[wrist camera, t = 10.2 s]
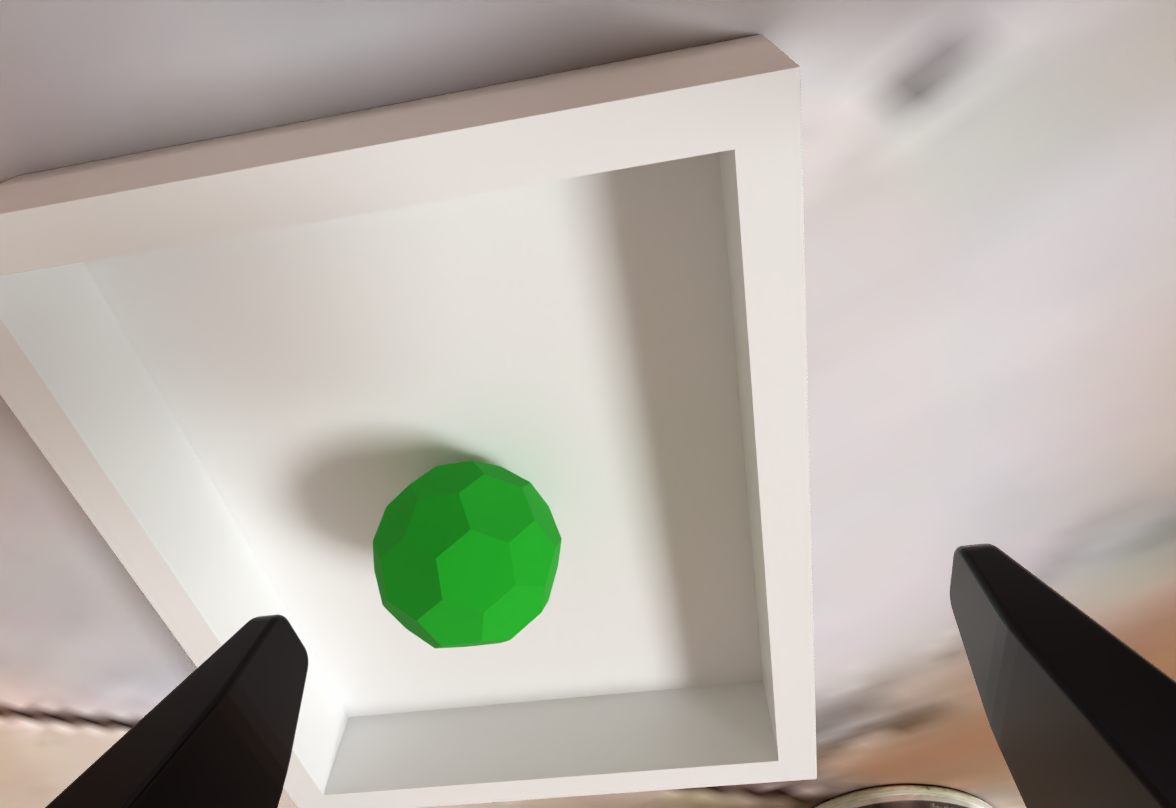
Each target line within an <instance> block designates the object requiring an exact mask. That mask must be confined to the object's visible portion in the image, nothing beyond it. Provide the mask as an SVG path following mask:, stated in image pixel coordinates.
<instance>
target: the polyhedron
mask: <svg viewBox="0 0 1176 808" xmlns="http://www.w3.org/2000/svg"><path fill="white" fill-rule="evenodd" d="M561 540H562V538H561V536H560V533H559V531H558V528H557V526H556V523H555V521H554V518H553V516H552V513H551V511H550V508H549V506H548V505H547V503H546V502H545V501H544V499H543V498H542V497H541V496H540V494H539V493H538V492H537V490H536V489H535V488H534V486H533V485H532V484H531V482H529V481H527V480H525V479H523V478H522V477H520V476H518V475H516V474H514V473H512V472H510V471H509V470H507V469H505V468H503V467H501V466H497V465H492V464H487V463H482V462H477V461H466V462H459V463H452V464H445V465H438V466H436V467H434V468H433V469H431V470H430V471H428V472H427V473H425V474H424V475H423V476H421V477H420V478H418V479H417V480H415V481H414V482H412V483H411V484H409V485H408V486H407V487H406V488H405V489H404V490H403V491H402V492H401V493H400V494H399V495H398V496H397V497H396V498H395V499H394V500H393V501H392V502H390V503H389V504H388V505H387V506H386V509H385V511H384V514H383V516H382V519H381V521H380V524H379V527H378V529H377V532H376V534H375V537H374V539H373V559H374V572H375V576H376V580H377V584H378V588H379V592H380V596H381V601H382V605H383V606H384V607H385V608H386V609H387V610H388V611H389V612H390V613H391V614H392V615H393V616H394V617H395V618H396V619H397V620H398V621H399V622H400V623H401V624H402V625H403V626H404V627H405V628H406V629H407V630H409V631H410V632H412V633H413V634H415V635H416V636H418V637H419V638H420V639H422V640H423V641H425V642H426V643H428V644H429V645H431V646H432V647H433V648H454V647H469V646H478V645H487V644H497V643H502V642H506V641H509V640H511V639H512V638H513V637H514V636H516V635H517V634H518V633H519V632H520V631H521V630H522V629H524V628H525V627H526V626H527V625H528V624H529V623H530V622H531V621H533V620H534V619H535V618H536V617H537V616H538V615H539V614H541V613H542V611H543V609H544V608H545V606H546V604H547V603H548V601H549V597H550V594H551V590H552V586H553V583H554V579H555V575H556V572H557V568H558V562H559V555H560V548H561Z"/></svg>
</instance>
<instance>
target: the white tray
mask: <svg viewBox="0 0 1176 808" xmlns="http://www.w3.org/2000/svg"><path fill="white" fill-rule="evenodd" d="M0 395H1V397H2V398H3V399H4V401H5V402H6V404H7V405H8V406H9V408H10V409H11V410H12V412H13V413H14V415H15V416H16V417H17V419H18V420H19V422H20V423H21V424H22V426H23V427H24V428H25V430H26V431H27V433H28V434H29V435H30V437H31V438H32V440H33V441H34V442H35V444H36V445H37V446H38V448H39V449H40V451H41V452H42V453H43V455H44V456H45V458H46V459H47V460H48V462H49V463H50V464H51V466H52V467H53V469H54V470H55V471H56V473H57V474H58V476H59V477H60V478H61V480H62V481H63V483H64V484H65V485H66V487H67V488H68V489H69V491H70V492H71V494H72V495H73V496H74V498H75V499H76V501H77V502H78V503H79V505H80V506H81V507H82V509H83V510H84V512H85V513H86V514H87V516H88V517H89V519H90V520H91V521H92V523H93V524H94V525H95V527H96V528H97V530H98V531H99V532H100V534H101V535H102V537H103V538H104V539H105V541H106V542H107V543H108V545H109V546H110V548H111V549H112V550H113V552H114V553H115V555H116V556H117V557H118V559H119V560H120V562H121V563H122V564H123V566H124V567H125V568H126V570H127V571H128V573H129V574H130V575H131V577H132V578H133V580H134V581H135V582H136V584H137V585H138V586H139V588H140V589H141V591H142V592H143V593H144V595H145V596H146V598H147V599H148V600H149V602H150V603H151V604H152V606H153V607H154V609H155V610H156V611H157V613H158V614H159V616H160V617H161V618H162V620H163V621H164V622H165V624H166V625H167V627H168V628H169V629H170V631H171V632H172V634H173V635H174V636H175V638H176V639H177V640H178V642H179V643H180V645H181V646H182V647H183V649H184V650H185V652H186V653H187V654H188V656H189V657H190V659H191V660H192V661H193V663H194V664H195V665H196V667H197V668H198V667H199V666H200V665H201V664H202V663H203V662H205V661H206V660H207V659H208V658H209V657H210V656H211V655H212V654H213V653H214V652H215V651H217V650H218V649H219V648H220V647H221V646H222V645H223V644H224V643H225V642H226V641H227V640H229V639H230V638H231V637H232V636H233V635H234V634H235V633H236V632H237V631H238V630H239V629H241V628H242V627H243V626H244V625H245V624H246V623H247V622H248V621H250V620H251V619H253V618H255V617H258V616H267V615H277V614H278V615H282V616H284V617H286V618H287V620H288V621H289V623H290V624H291V626H292V627H293V629H294V631H295V632H296V634H297V636H298V637H299V639H300V640H301V642H302V644H303V645H304V647H305V649H306V651H307V654H308V671H307V676H306V681H305V687H304V692H303V697H302V702H301V707H300V712H299V717H298V723H297V728H296V733H295V738H294V743H293V748H292V754H291V758H290V763H289V767H288V771H287V775H286V779H285V783H284V786H283V787H284V789H285V790H286V792H287V793H288V794H289V796H290V797H291V798H292V800H293V801H294V803H295V804H296V805H297V807H298V808H420V807H433V806H447V805H461V804H475V803H489V802H503V801H517V800H530V799H544V798H558V797H572V796H586V795H600V794H614V793H627V792H641V791H655V790H669V789H683V788H697V787H711V786H725V785H738V784H752V783H766V782H780V781H794V780H808V779H817V761H816V718H815V676H814V633H813V591H812V548H811V505H810V463H809V420H808V378H807V335H806V293H805V250H804V207H803V165H802V122H801V80H800V66H799V65H798V64H796V63H795V62H794V61H793V60H792V59H790V58H789V57H788V56H787V55H786V54H784V53H783V52H782V51H781V50H780V49H778V48H777V47H776V46H775V45H774V44H772V43H771V42H770V41H769V40H768V39H767V38H765V37H764V36H763V35H762V34H760V35H755V36H749V37H744V38H739V39H734V40H728V41H723V42H718V43H713V44H707V45H702V46H697V47H692V48H686V49H681V50H676V51H671V52H665V53H660V54H655V55H650V56H644V57H639V58H634V59H629V60H623V61H618V62H613V63H608V64H602V65H597V66H592V67H587V68H581V69H576V70H571V71H566V72H560V73H555V74H550V75H545V76H539V77H534V78H529V79H524V80H518V81H513V82H508V83H503V84H497V85H492V86H487V87H482V88H476V89H471V90H466V91H461V92H455V93H450V94H445V95H440V96H434V97H429V98H424V99H419V100H413V101H408V102H403V103H398V104H392V105H387V106H382V107H377V108H371V109H366V110H361V111H356V112H350V113H345V114H340V115H335V116H329V117H324V118H319V119H314V120H308V121H303V122H298V123H293V124H287V125H282V126H277V127H271V128H266V129H261V130H256V131H250V132H245V133H240V134H235V135H229V136H224V137H219V138H214V139H208V140H203V141H198V142H193V143H187V144H182V145H177V146H172V147H166V148H161V149H156V150H151V151H145V152H140V153H135V154H130V155H124V156H119V157H114V158H109V159H103V160H98V161H93V162H88V163H82V164H77V165H72V166H67V167H61V168H56V169H51V170H46V171H40V172H35V173H30V174H25V175H19V176H16V177H14V178H11V179H9V180H7V181H5V182H3V183H0ZM466 461H477V462H482V463H487V464H492V465H497V466H501V467H503V468H505V469H507V470H509V471H510V472H512V473H514V474H516V475H518V476H520V477H522V478H523V479H525V480H527V481H529V482H531V484H532V485H533V486H534V488H535V489H536V490H537V492H538V493H539V494H540V496H541V497H542V498H543V499H544V501H545V502H546V503H547V505H548V506H549V508H550V511H551V513H552V516H553V518H554V521H555V523H556V526H557V528H558V531H559V533H560V536H561V538H562V540H561V548H560V555H559V562H558V568H557V572H556V575H555V579H554V583H553V586H552V590H551V594H550V597H549V601H548V603H547V604H546V606H545V608H544V609H543V611H542V613H541V614H539V615H538V616H537V617H536V618H535V619H534V620H533V621H531V622H530V623H529V624H528V625H527V626H526V627H525V628H524V629H522V630H521V631H520V632H519V633H518V634H517V635H516V636H514V637H513V638H512V639H511V640H509V641H506V642H502V643H497V644H487V645H478V646H469V647H454V648H433V647H432V646H431V645H429V644H428V643H426V642H425V641H423V640H422V639H420V638H419V637H418V636H416V635H415V634H413V633H412V632H410V631H409V630H407V629H406V628H405V627H404V626H403V625H402V624H401V623H400V622H399V621H398V620H397V619H396V618H395V617H394V616H393V615H392V614H391V613H390V612H389V611H388V610H387V609H386V608H385V607H384V606H383V605H382V601H381V596H380V592H379V588H378V584H377V580H376V576H375V572H374V559H373V539H374V537H375V534H376V532H377V529H378V527H379V524H380V521H381V519H382V516H383V514H384V511H385V509H386V506H387V505H388V504H389V503H390V502H392V501H393V500H394V499H395V498H396V497H397V496H398V495H399V494H400V493H401V492H402V491H403V490H404V489H405V488H406V487H407V486H408V485H409V484H411V483H412V482H414V481H415V480H417V479H418V478H420V477H421V476H423V475H424V474H425V473H427V472H428V471H430V470H431V469H433V468H434V467H436V466H438V465H445V464H452V463H459V462H466Z"/></svg>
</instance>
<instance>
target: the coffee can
mask: <svg viewBox="0 0 1176 808" xmlns="http://www.w3.org/2000/svg"><path fill="white" fill-rule="evenodd" d="M814 808H994V807H992V806H991V805H989V804H988V803H987V802H985V801H983V800H981V799H979V798H977V797H975V796H973V795H970V794H967V793H964V792H961V791H957V790H952V789H948V788H942V787H936V786H921V785H892V786H883V787H874V788H869V789H864V790H860V791H855V792H851V793H848V794H845V795H841V796H838V797H836V798H834V799H831V800H829V801H826V802H824V803H822V804H819V805H818V806H816V807H814Z"/></svg>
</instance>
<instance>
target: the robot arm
mask: <svg viewBox="0 0 1176 808" xmlns="http://www.w3.org/2000/svg"><path fill="white" fill-rule="evenodd" d="M950 600H951V605H952V610H953V613H954V616H955V619H956V622H957V625H958V628H959V632H960V635H961V638H962V641H963V644H964V647H965V650H966V653H967V656H968V660H969V663H970V666H971V669H972V672H973V675H974V678H975V681H976V684H977V688H978V691H979V694H980V697H981V700H982V703H983V706H984V709H985V712H986V715H987V718H988V721H989V724H990V726H991V729H992V731H993V734H994V736H995V738H996V741H997V743H998V746H999V748H1000V750H1001V752H1002V754H1003V757H1004V759H1005V761H1006V763H1007V765H1008V768H1009V770H1010V772H1011V774H1012V776H1013V779H1014V781H1015V783H1016V785H1017V788H1018V790H1019V792H1020V794H1021V796H1022V799H1023V801H1024V803H1025V805H1026V807H1027V808H1176V682H1175V681H1174V680H1173V679H1171V678H1170V677H1169V676H1167V675H1166V674H1165V673H1163V672H1162V671H1161V670H1159V669H1158V668H1157V667H1155V666H1154V665H1153V664H1151V663H1150V662H1149V661H1147V660H1146V659H1145V658H1143V657H1142V656H1141V655H1139V654H1138V653H1137V652H1135V651H1134V650H1133V649H1132V648H1130V647H1129V646H1128V645H1126V644H1125V643H1124V642H1122V641H1121V640H1120V639H1118V638H1117V637H1116V636H1114V635H1113V634H1112V633H1110V632H1109V631H1108V630H1106V629H1105V628H1104V627H1102V626H1101V625H1100V624H1098V623H1097V622H1096V621H1094V620H1093V619H1092V618H1090V617H1089V616H1088V615H1086V614H1085V613H1084V612H1082V611H1081V610H1080V609H1078V608H1077V607H1076V606H1074V605H1073V604H1072V603H1070V602H1069V601H1068V600H1066V599H1065V598H1064V597H1062V596H1061V595H1060V594H1058V593H1057V592H1056V591H1055V590H1053V589H1052V588H1051V587H1049V586H1048V585H1047V584H1045V583H1044V582H1043V581H1041V580H1040V579H1039V578H1037V577H1036V576H1035V575H1033V574H1032V573H1031V572H1029V571H1028V570H1027V569H1025V568H1024V567H1023V566H1021V565H1020V564H1019V563H1017V562H1016V561H1015V560H1013V559H1012V558H1011V557H1009V556H1008V555H1007V554H1005V553H1004V552H1003V551H1001V550H1000V549H999V548H997V547H996V546H994V545H991V544H977V545H967V546H960V547H958V548H957V549H956V551H955V553H954V557H953V567H952V576H951V585H950ZM307 671H308V654H307V651H306V649H305V647H304V645H303V644H302V642H301V640H300V639H299V637H298V636H297V634H296V632H295V631H294V629H293V627H292V626H291V624H290V623H289V621H288V620H287V618H286V617H284V616H282V615H278V614H277V615H267V616H258V617H255V618H253V619H251V620H250V621H248V622H247V623H246V624H245V625H244V626H243V627H242V628H241V629H239V630H238V631H237V632H236V633H235V634H234V635H233V636H232V637H231V638H230V639H229V640H227V641H226V642H225V643H224V644H223V645H222V646H221V647H220V648H219V649H218V650H217V651H215V652H214V653H213V654H212V655H211V656H210V657H209V658H208V659H207V660H206V661H205V662H203V663H202V664H201V665H200V666H199V667H198V668H197V669H196V670H195V671H194V672H193V673H191V674H190V675H189V676H188V677H187V678H186V679H185V680H184V681H183V682H182V683H181V684H180V685H178V686H177V687H176V688H175V689H174V690H173V691H172V692H171V693H170V694H169V695H168V696H166V697H165V698H164V699H163V700H162V701H161V702H160V703H159V704H158V705H157V706H156V707H154V708H153V709H152V710H151V711H150V712H149V713H148V714H147V715H146V716H145V717H144V718H142V719H141V720H140V721H139V722H138V723H137V724H136V725H135V726H134V727H133V728H132V729H130V730H129V731H128V732H127V733H126V734H125V735H124V736H123V737H122V738H121V739H120V740H118V741H117V742H116V743H115V744H114V745H113V746H112V747H111V748H110V749H109V750H108V751H107V752H105V753H104V754H103V755H102V756H101V757H100V758H99V759H98V760H97V761H96V762H95V763H93V764H92V765H91V766H90V767H89V768H88V769H87V770H86V771H85V772H84V773H83V774H81V775H80V776H79V777H78V778H77V779H76V780H75V781H74V782H73V783H72V784H71V785H69V786H68V787H67V788H66V789H65V790H64V791H63V792H62V793H61V794H60V795H59V796H57V797H56V798H55V799H54V800H53V801H52V802H51V803H50V804H49V805H48V806H47V807H45V808H277V807H278V803H279V800H280V797H281V793H282V790H283V786H284V783H285V779H286V775H287V771H288V767H289V763H290V758H291V754H292V748H293V743H294V738H295V733H296V728H297V723H298V717H299V712H300V707H301V702H302V697H303V692H304V687H305V681H306V676H307Z"/></svg>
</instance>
